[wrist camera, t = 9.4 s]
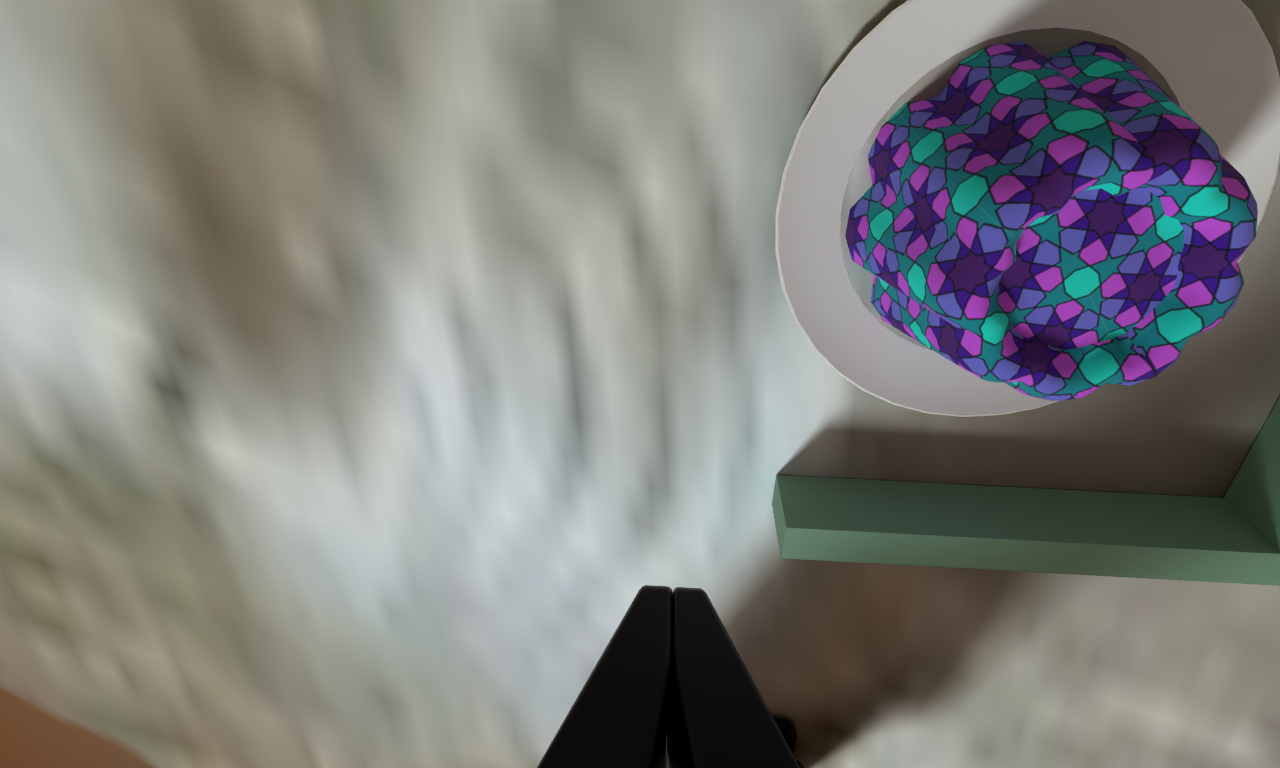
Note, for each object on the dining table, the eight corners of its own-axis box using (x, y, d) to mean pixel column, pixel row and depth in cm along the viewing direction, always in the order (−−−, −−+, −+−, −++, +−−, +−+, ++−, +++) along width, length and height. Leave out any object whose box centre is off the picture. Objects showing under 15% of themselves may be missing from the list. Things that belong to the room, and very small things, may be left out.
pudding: (913, 467, 23) (970, 590, 19) (680, 175, 19) (679, 242, 14) (1327, 240, 19) (1533, 327, 14) (1147, -207, 14) (1359, -285, 10)
